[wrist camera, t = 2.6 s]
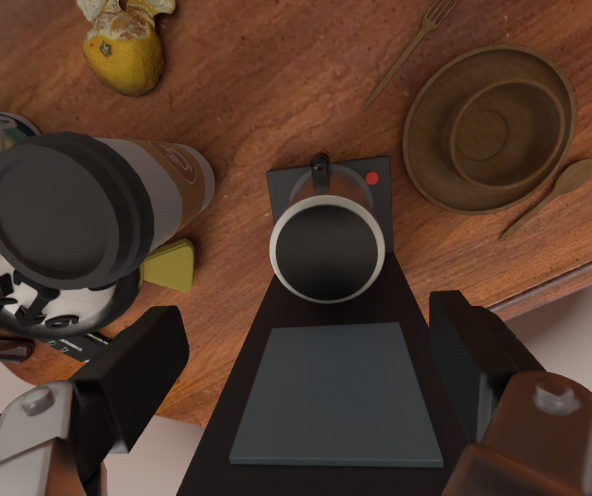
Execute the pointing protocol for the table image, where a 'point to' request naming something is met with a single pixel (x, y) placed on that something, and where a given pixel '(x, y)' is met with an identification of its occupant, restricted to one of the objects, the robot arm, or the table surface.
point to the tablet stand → (15, 351)
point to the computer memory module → (79, 346)
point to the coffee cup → (95, 204)
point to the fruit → (124, 43)
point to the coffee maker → (332, 385)
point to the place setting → (489, 129)
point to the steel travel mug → (327, 238)
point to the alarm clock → (86, 296)
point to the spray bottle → (14, 129)
